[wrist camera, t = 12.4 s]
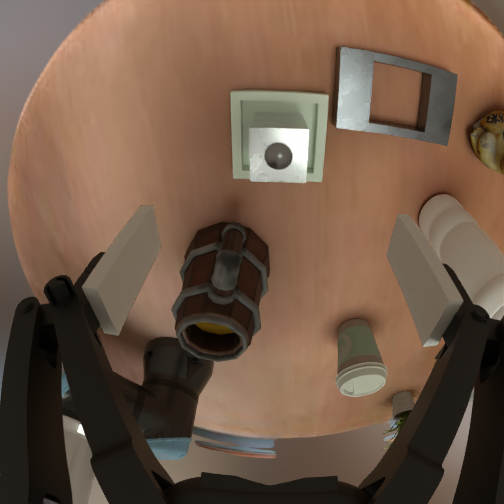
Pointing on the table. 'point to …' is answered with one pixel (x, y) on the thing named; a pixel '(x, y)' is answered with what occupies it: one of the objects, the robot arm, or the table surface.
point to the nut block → (278, 147)
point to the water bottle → (465, 251)
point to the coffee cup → (359, 360)
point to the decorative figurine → (490, 140)
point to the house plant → (401, 409)
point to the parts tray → (278, 102)
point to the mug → (221, 292)
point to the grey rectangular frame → (360, 87)
